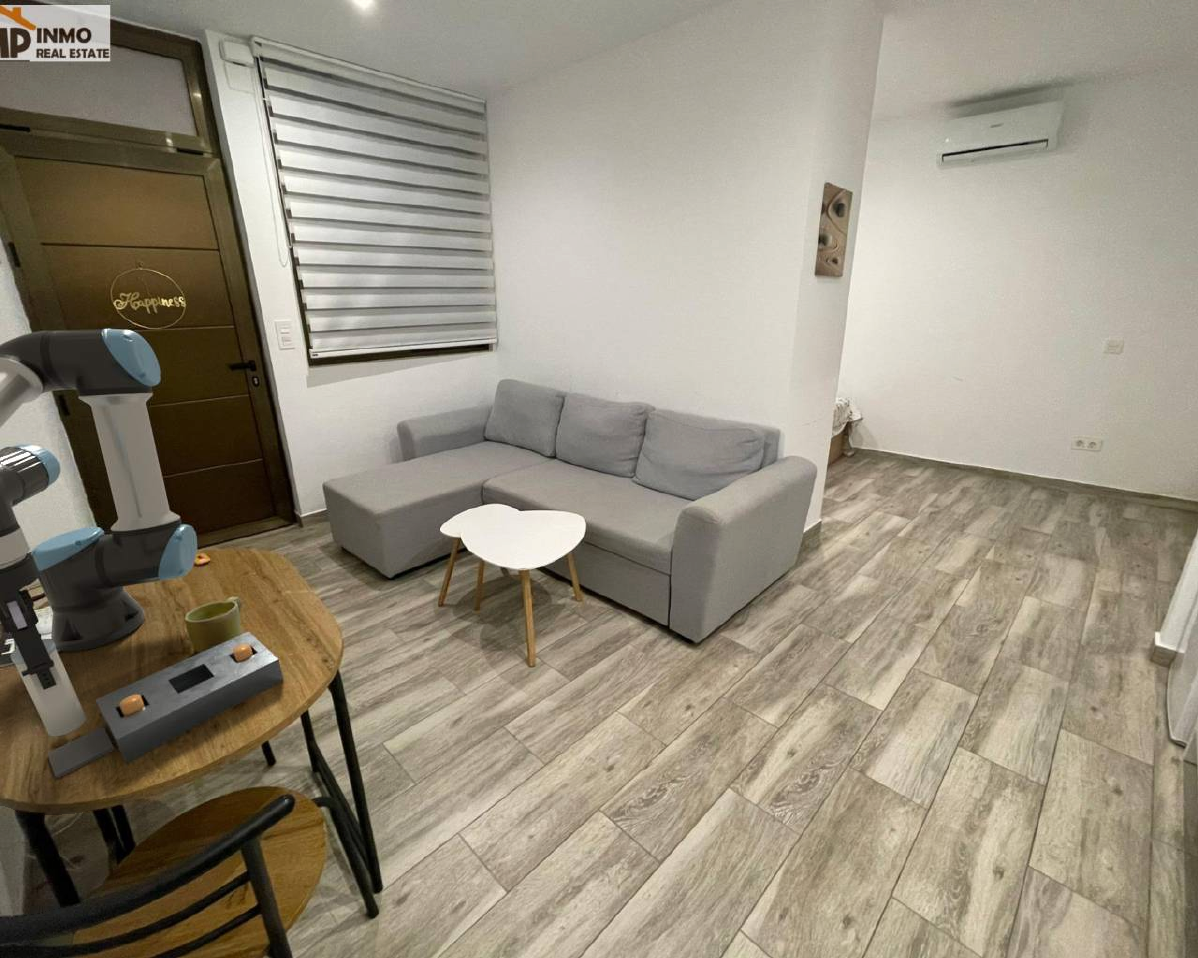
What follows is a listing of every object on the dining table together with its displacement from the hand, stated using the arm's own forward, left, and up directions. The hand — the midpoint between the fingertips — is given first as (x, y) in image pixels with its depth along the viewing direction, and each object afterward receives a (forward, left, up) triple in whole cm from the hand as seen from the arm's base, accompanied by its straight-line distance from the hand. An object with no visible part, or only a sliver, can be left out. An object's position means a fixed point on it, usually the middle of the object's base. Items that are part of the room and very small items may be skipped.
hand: (53, 693), depth 82 cm
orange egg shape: (+1, +25, -12) cm, 27 cm away
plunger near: (+1, +8, -12) cm, 14 cm away
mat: (0, 0, -12) cm, 12 cm away
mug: (-16, +26, -13) cm, 33 cm away
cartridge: (0, 0, -6) cm, 6 cm away
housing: (+1, +16, -12) cm, 20 cm away
